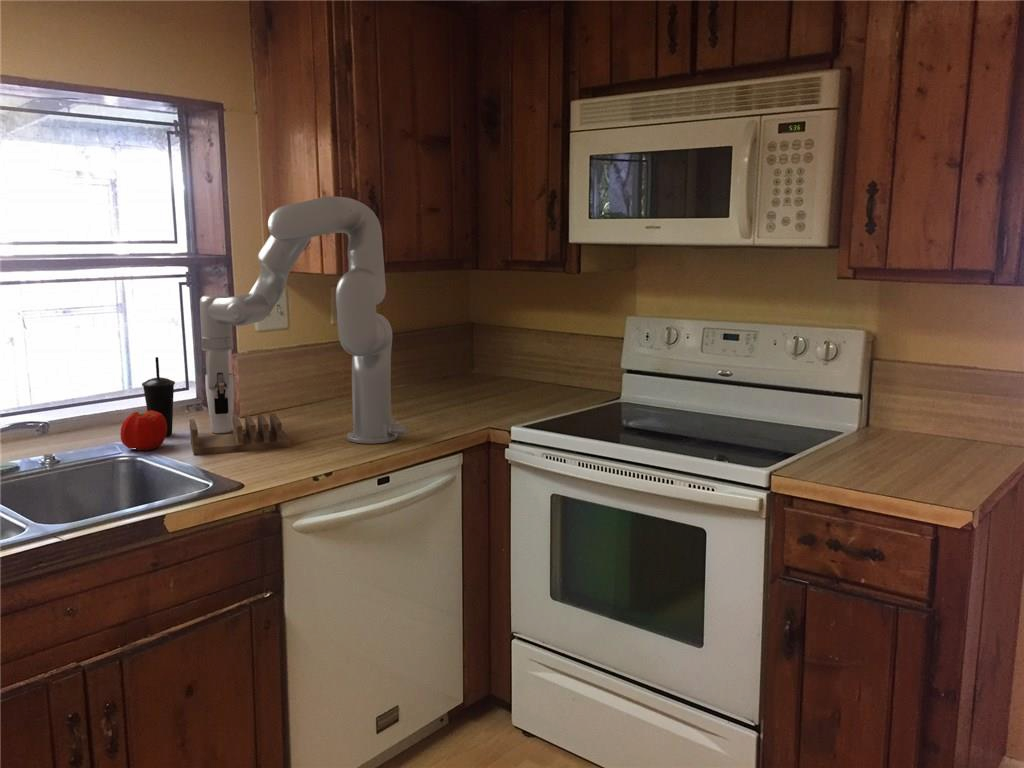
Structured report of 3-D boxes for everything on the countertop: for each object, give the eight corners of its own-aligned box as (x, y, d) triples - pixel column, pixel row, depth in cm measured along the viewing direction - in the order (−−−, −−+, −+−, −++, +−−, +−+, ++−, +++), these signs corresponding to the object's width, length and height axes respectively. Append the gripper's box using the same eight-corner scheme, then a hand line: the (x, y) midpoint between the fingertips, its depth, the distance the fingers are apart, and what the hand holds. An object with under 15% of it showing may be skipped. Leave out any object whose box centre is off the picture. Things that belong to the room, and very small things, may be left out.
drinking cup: (180, 431, 221) (175, 354, 217) (175, 438, 213) (170, 359, 210) (148, 432, 219) (143, 355, 215) (142, 439, 212) (137, 360, 208)
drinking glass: (227, 435, 217) (224, 377, 214) (202, 434, 218) (199, 376, 216) (240, 429, 224) (237, 372, 221) (217, 428, 225) (214, 371, 222)
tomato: (158, 440, 211) (155, 406, 210) (176, 449, 203) (173, 413, 202) (113, 447, 204) (110, 412, 203) (130, 456, 196) (127, 419, 195)
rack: (283, 435, 217) (282, 412, 216) (290, 446, 207) (289, 422, 205) (190, 443, 209) (189, 419, 208) (193, 455, 198) (192, 429, 197)
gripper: (199, 339, 223) (202, 404, 226) (203, 348, 208) (207, 417, 211) (229, 339, 226) (232, 402, 229) (236, 347, 211) (238, 415, 214)
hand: (220, 409), depth 220 cm, fingers open, 9 cm apart
